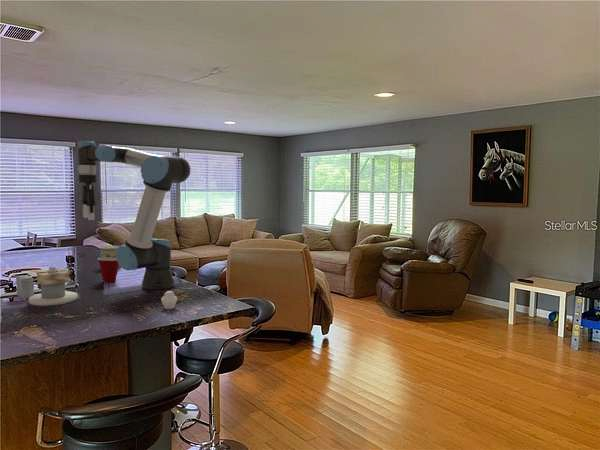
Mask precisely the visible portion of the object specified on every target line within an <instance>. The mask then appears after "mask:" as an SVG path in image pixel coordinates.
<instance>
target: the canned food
mask: <svg viewBox="0 0 600 450" xmlns="http://www.w3.org/2000/svg"><path fill="white" fill-rule="evenodd" d="M119 246H120V245H105V246H101V247H100V258H102V257H114V258H116V251H117V248H118V247H119ZM119 269H123V268H122V267H121V266H120V265H118V270H119Z"/></svg>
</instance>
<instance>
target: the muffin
mask: <svg viewBox="0 0 600 450" xmlns="http://www.w3.org/2000/svg"><path fill="white" fill-rule="evenodd" d="M174 293H175V292H174V291H172V290H168V291H165V292H164V295H163V296H162V297H161V298H160V300H161V304H162V305H163V307H164V308H165V309H166V310H172V309H174V307H175V305H176V303H177V301H178V296H176V295H175V294H174Z"/></svg>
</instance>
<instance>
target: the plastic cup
mask: <svg viewBox="0 0 600 450" xmlns="http://www.w3.org/2000/svg"><path fill="white" fill-rule="evenodd" d="M97 261H98V265H99V268H100V273H101V278H102V282H103V283H106V284H107V283H114V282H116V280H117V276H118V270H119V269H118V265H119V264H118V261H117V258H114V257H102V258H101V257H98V258H97Z"/></svg>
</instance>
